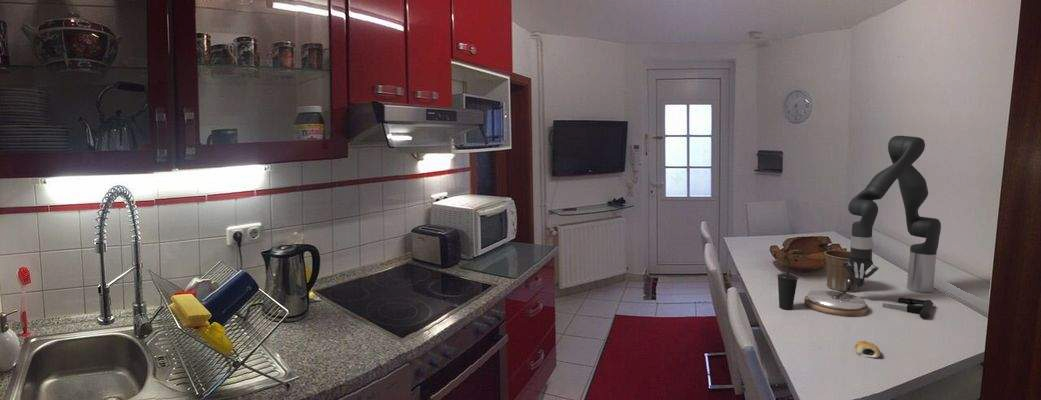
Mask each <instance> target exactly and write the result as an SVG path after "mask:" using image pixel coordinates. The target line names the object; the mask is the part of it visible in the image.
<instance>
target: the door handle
mask: <svg viewBox="0 0 1041 400" xmlns="http://www.w3.org/2000/svg"><path fill="white" fill-rule="evenodd" d="M897 303H899V304H902V305H899V304H894V303H885V302H883V303H882V308H884V309H889V310H896V311H900V312H907V313H908V314H915V315H918V316H919V317H920V318H921V319H923V320H927V319H928V318H929V317H931V314H932V313H931V312H932V311H933V310H932V309H933V307H934V308H935V307H937V306H934V302H933V301H932V300H930V299H918V298H917V299H916V298H909V297H898V298H897ZM903 304H904V305H903Z"/></svg>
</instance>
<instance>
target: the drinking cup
mask: <svg viewBox="0 0 1041 400" xmlns="http://www.w3.org/2000/svg"><path fill="white" fill-rule="evenodd" d="M786 263H787V265H786V268H787V269H786V272H781V273H777V274H776V277H777V289H778V291H777V292H778V307H779V309H781V310H785V311H791V310H793V307H794V304H795V303H794V302H795V297H796V292H797V291H796V290H797V283H798V279H799V276H798V275H795V274H794V273H791V272H790V260H787V262H786Z"/></svg>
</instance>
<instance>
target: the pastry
mask: <svg viewBox="0 0 1041 400" xmlns="http://www.w3.org/2000/svg"><path fill="white" fill-rule="evenodd" d="M854 348H855V354H857V356H859V357H864V358H870V359H871V358H872V359H878V358H880V356H881V355H882V353H881V350H880V348H879V347H878V345H875V344H874V343H872V342H869V341H866V340H861V341H857V342H856V343H855V346H854Z"/></svg>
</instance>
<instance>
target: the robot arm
mask: <svg viewBox="0 0 1041 400" xmlns="http://www.w3.org/2000/svg"><path fill="white" fill-rule="evenodd" d="M925 148H926V142H925V140H924V139H923V138H922V137H918V136H910V135H894V136H891V138H890V139H889V141H888V144H887V151H888V154H889V159H890V161H891V163H892V164H891V165H890V166H888V167H886V168H884V169H882V170H881V171H879V172H878V173H876V174H875V175H874V176H873V177H872V178H871V180H870V181H869V183H868V184H867V185H866V186H865V188H864V189H862V190H861V191H860V192H858V193H857V194H856V195H855V196H854V197H853V198H852V199H851V200H850V201H849V204H848V207H847V208H848V212H849V213H850V214H851V215H853V216H858V217H860V219H859V220H857V221H854V222H852V225H851V237H850V238H851V239H850V248H849V249H850V250H849V252H850V259H849V261H848V262H845V263H843V265H844V267H845V268H846V269H847V271H848V272H849V273H850V275H852V276H855V278H856V279H855V284H856V285H857V286H858V287H859V288H862V287H863V286H864V285H865V280H866V279H869V278H870V277H871V276H872V275H874V274H875V273H876V272H877V271H878V270H879V269H880V268H879V266H876V265H875V264H874V261H873V245H874V243H873V227H874V225H875V221H876V219H877V216H878V213H879V207H878V204H877V202H876V200H877V201H878V200H879V201H880V200H882V199H883V198H884V196H885V195H886V194H887V192H888V191H889V189H890V188H892V185H893V184H894V183H895V182H896V181H897V182H898V186H899V191H900V195H901V198H902V202H903V206H904V212H905V221H906V228H907V229H906V230H907V232H908V234H909V235H910V236H912V237H917V238H923V239H925V241H924V242H922V243H914V244H911V245H910V246H909V256H908V257H909V260H908V268H907V278H906V281H907V282H906V289H908V290H910V291H914V292H917V293H918V292H919V293H933V292H934V284H935V283H934V282H935V275H936V273H935V272H936V264H937V251H938V249H939V243H940V235H941V230H942V223H941V221H940V219H939V218H934V217H926V216H920V215H919V214H920V213H919V210H920V207H921V206H922V205H923V203H924V202H926V201H925V200H927V198H928V196H929V190H928V185H927V181H926V179H925V177H924V176H923V175H922V174H921V172H920V171H918V169H917V168H916V167H914V165H913V164H914V163H915V162H916V161H917V160H918V159H919V158H920V157H921V155H923V153H924V151H925V150H926V149H925ZM851 265H852V266H853V268H854V270H853V268H852V267H851ZM869 269H870V271H869V272H868V273H867V270H869Z"/></svg>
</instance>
